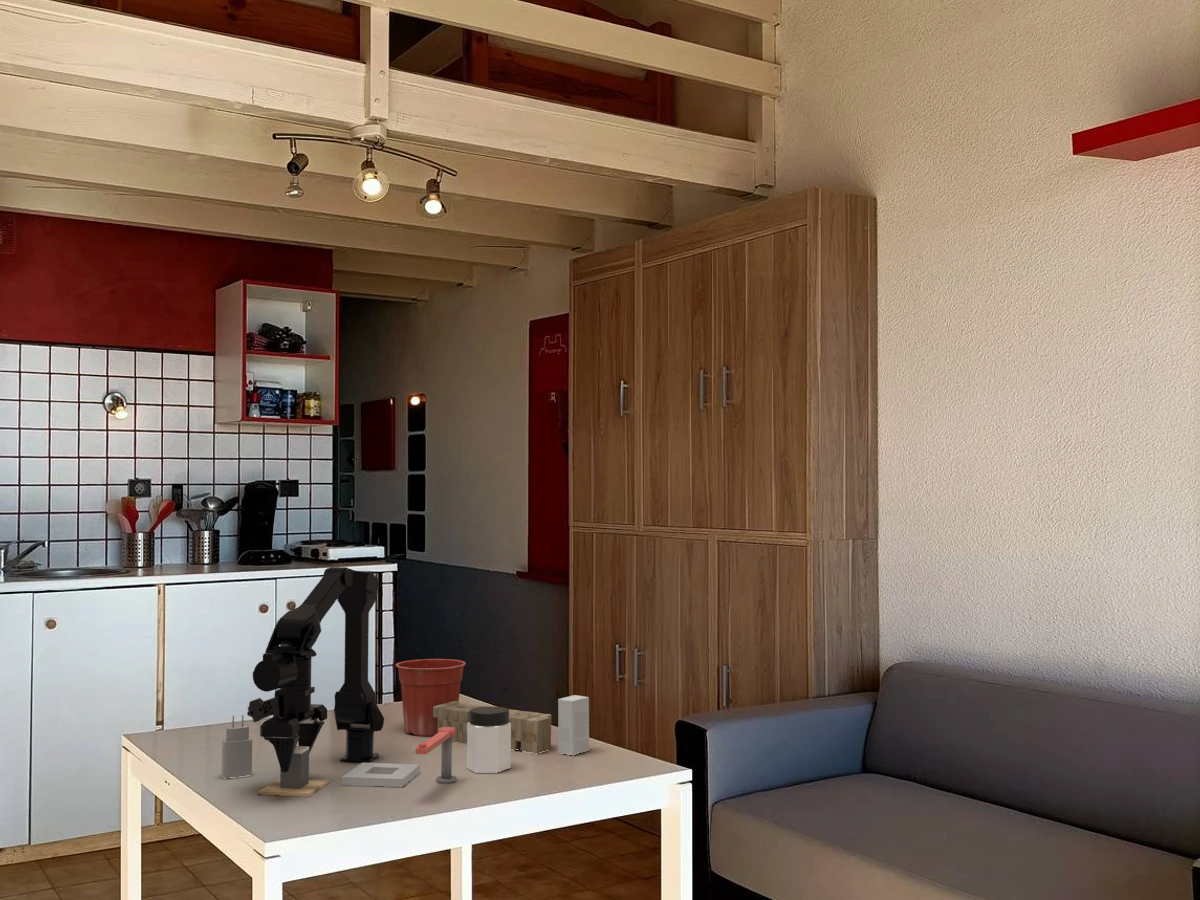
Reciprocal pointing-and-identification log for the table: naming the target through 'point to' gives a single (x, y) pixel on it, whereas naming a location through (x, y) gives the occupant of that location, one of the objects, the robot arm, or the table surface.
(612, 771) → the table surface
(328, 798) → the table surface
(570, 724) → the skincare box
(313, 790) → the wooden pad
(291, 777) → the plug
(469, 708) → the block tower
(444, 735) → the pink lever
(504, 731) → the jar
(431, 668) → the flower pot
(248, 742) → the power adapter
